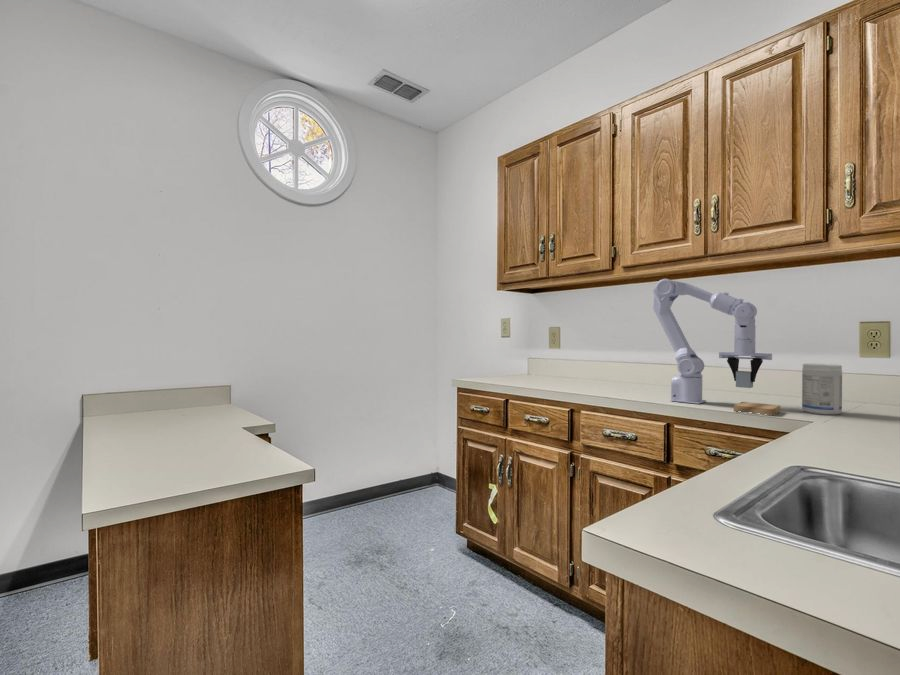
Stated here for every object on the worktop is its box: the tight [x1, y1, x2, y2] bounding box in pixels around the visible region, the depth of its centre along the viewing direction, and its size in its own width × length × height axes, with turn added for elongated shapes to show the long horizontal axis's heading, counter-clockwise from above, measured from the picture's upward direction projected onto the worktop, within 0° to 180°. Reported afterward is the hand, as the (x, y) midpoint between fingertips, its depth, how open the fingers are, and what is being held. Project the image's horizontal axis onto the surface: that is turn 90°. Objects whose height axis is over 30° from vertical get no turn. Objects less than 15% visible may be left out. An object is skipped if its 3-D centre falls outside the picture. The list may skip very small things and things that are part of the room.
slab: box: [733, 401, 781, 416], centre depth 142 cm, size 10×10×2 cm
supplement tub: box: [801, 362, 843, 416], centre depth 141 cm, size 10×10×15 cm
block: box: [735, 370, 754, 389], centre depth 150 cm, size 4×4×5 cm
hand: (744, 381), depth 150 cm, fingers closed on block, 4 cm apart
